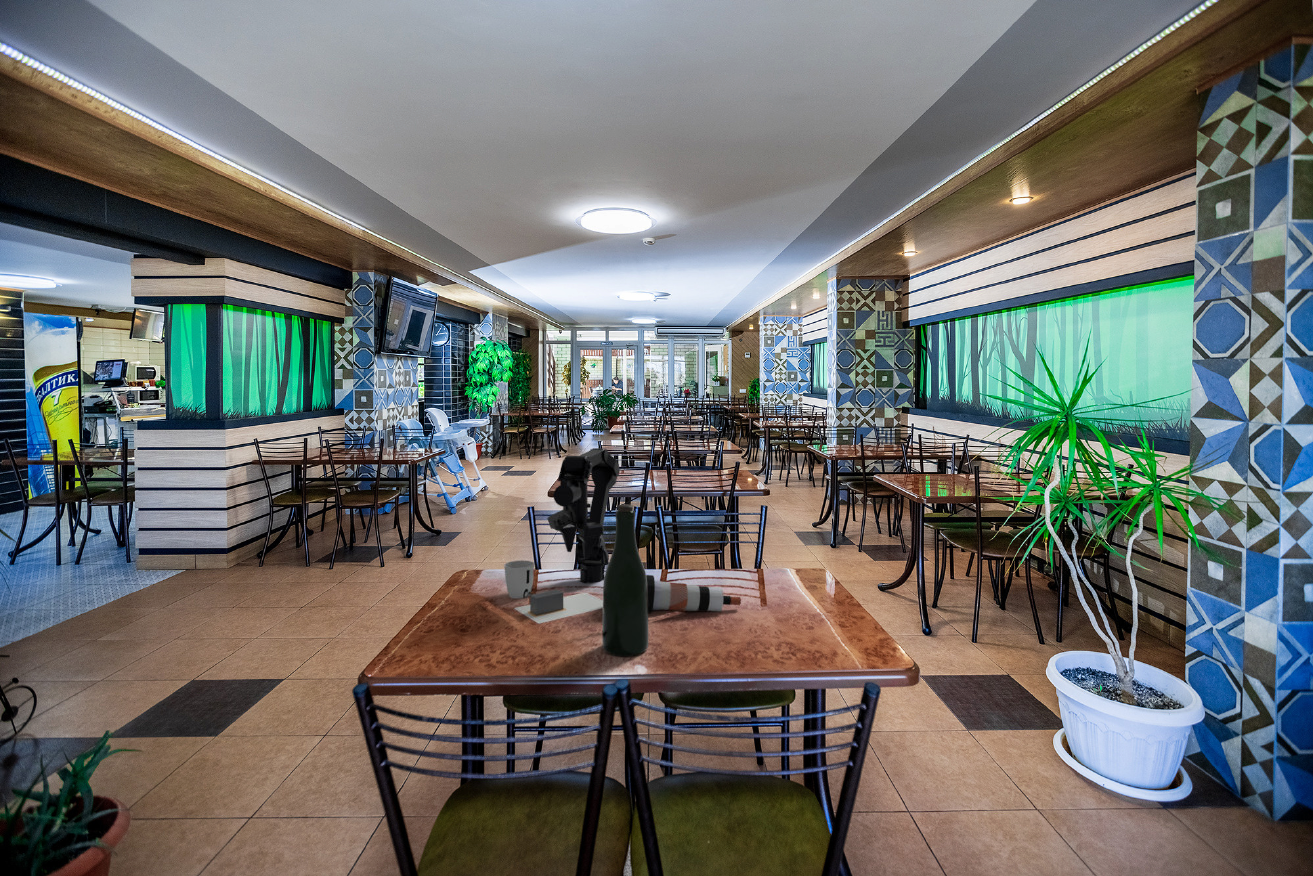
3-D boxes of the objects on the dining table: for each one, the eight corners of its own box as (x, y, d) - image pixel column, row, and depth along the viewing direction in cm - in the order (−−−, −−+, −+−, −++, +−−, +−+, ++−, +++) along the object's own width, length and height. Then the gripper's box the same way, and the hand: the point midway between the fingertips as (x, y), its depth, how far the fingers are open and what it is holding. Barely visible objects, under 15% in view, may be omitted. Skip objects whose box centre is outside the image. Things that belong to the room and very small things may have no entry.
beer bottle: (623, 636, 156) (623, 499, 153) (657, 647, 149) (658, 504, 147) (592, 649, 148) (592, 505, 145) (627, 662, 141) (627, 511, 139)
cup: (528, 604, 178) (528, 568, 177) (500, 603, 179) (499, 567, 178) (538, 595, 186) (538, 561, 185) (511, 594, 187) (510, 559, 186)
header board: (585, 596, 185) (585, 583, 185) (613, 609, 174) (613, 596, 174) (513, 612, 172) (513, 598, 172) (538, 628, 161) (538, 613, 160)
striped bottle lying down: (738, 629, 173) (747, 601, 168) (610, 620, 169) (615, 592, 163) (732, 600, 182) (740, 573, 177) (610, 592, 177) (615, 564, 172)
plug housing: (557, 605, 174) (556, 589, 173) (563, 609, 171) (563, 592, 170) (530, 612, 169) (530, 595, 168) (536, 615, 166) (536, 598, 166)
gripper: (535, 498, 185) (536, 552, 186) (568, 508, 170) (569, 567, 171) (570, 494, 192) (570, 547, 193) (604, 503, 177) (604, 560, 178)
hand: (577, 555), depth 184 cm, fingers open, 9 cm apart
